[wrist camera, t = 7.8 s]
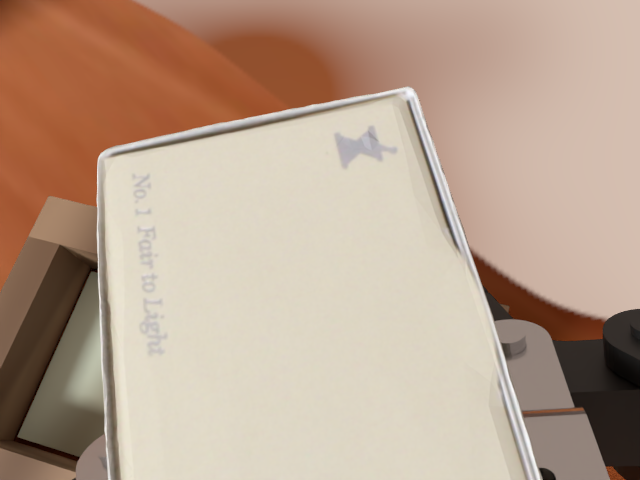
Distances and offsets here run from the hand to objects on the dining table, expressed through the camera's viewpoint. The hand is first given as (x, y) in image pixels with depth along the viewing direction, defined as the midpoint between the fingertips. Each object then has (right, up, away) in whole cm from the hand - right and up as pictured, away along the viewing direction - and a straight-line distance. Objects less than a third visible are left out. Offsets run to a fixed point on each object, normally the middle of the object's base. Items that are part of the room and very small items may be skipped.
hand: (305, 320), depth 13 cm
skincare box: (+1, -4, +5) cm, 6 cm away
